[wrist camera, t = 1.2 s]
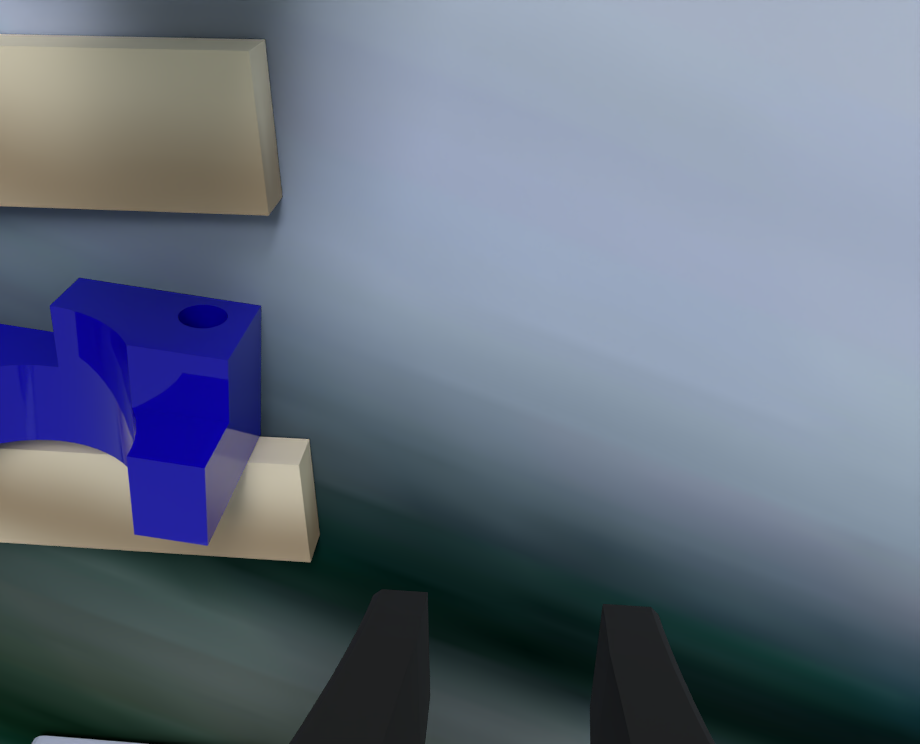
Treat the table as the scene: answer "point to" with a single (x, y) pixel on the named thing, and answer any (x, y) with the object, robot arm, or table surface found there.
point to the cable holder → (144, 395)
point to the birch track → (143, 189)
